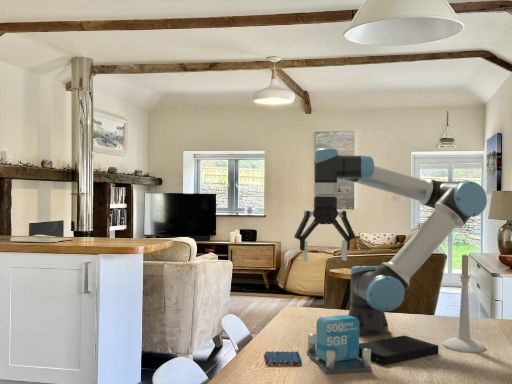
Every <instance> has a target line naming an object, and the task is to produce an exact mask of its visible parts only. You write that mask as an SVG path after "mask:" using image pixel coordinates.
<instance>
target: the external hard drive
mask: <svg viewBox="0 0 512 384" xmlns="http://www.w3.org/2000/svg"><path fill="white" fill-rule="evenodd" d="M362 348H370V349H371V363H375V364H377V363H378V364H377V365H380V364H381V366H383V367H384V366H389V365H394V364H399V363H403V362H409V361H413V360H416V359H423V358H427V356H428V357H432V356H436V355H439V350H440V349H439V344H438V345H437V344H435V343H431V342H427V341H424V340H422V339H417V338H414V337H411V336H408V335H405V334H404V335H399V336H394V337H388V338H383V339H377V340H371V341H366V342H359V355H358V357H359V358H362ZM422 357H423V358H422Z"/></svg>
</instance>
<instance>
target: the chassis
mask: <svg viewBox="0 0 512 384" xmlns="http://www.w3.org/2000/svg"><path fill="white" fill-rule="evenodd" d="M306 354H307V356H308V357H309V358H310V359H311V360H312V361H314V363H315V364H316V365H317V366H318V367H319V368H321V369H322V371H323V372H324V373H325V374H328V375H329V374H331V375H332V374H347V373H348V374H349V373H366V372H367V373H368V372H372V371H373V368H372V361H371V349H370V348H362V357H359V356H358V357H357V358H356V359H351V360H343V361H335V350H326V362H325V361H323V360H321V359H319V358H318V357H317V355H316V333H308V334H307V350H306Z"/></svg>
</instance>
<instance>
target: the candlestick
mask: <svg viewBox="0 0 512 384" xmlns="http://www.w3.org/2000/svg"><path fill="white" fill-rule="evenodd" d="M469 258H470V257H469V255H467V254H462V255H461V275H459V277H460V282H461V284H462V286H461V287H460V288H461V294H460V306H459V308H460V309H459V321H458V330H457V331H458V334H457V336H455V337H451V338H447V339H445V340H444V341H443V344H442V346H443V347H444V348H445V349H448V350H450V351H451V350H452V351H454V352H460V353H472V354H473V353H481V352H485V350H486V346H485V345H484V344H483V343H482V342H481V341H479V340H477V339H473V338H471V331H470V328H471V327H470V326H471V325H470V303H469V301H470V300H469V287H468V284H469V282H470V278H471V275H469V262H470V261H469Z"/></svg>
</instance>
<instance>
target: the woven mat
mask: <svg viewBox="0 0 512 384" xmlns="http://www.w3.org/2000/svg"><path fill="white" fill-rule="evenodd" d="M263 358H264V362H265V364H266V367H269V366H270V367H273V366H274V367H277V366H278V367H285V366H286V367H289V366H290V367H293V366H294V367H296V365H297V366H298V367H301V365H302V364H303V362H302V360H303V359H302V358H301V355H300V353H299V350H298V351H293V350H292V351H288V350H287V351H283V350H282V351H279V350H278V351H265V352H264V353H263Z"/></svg>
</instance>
